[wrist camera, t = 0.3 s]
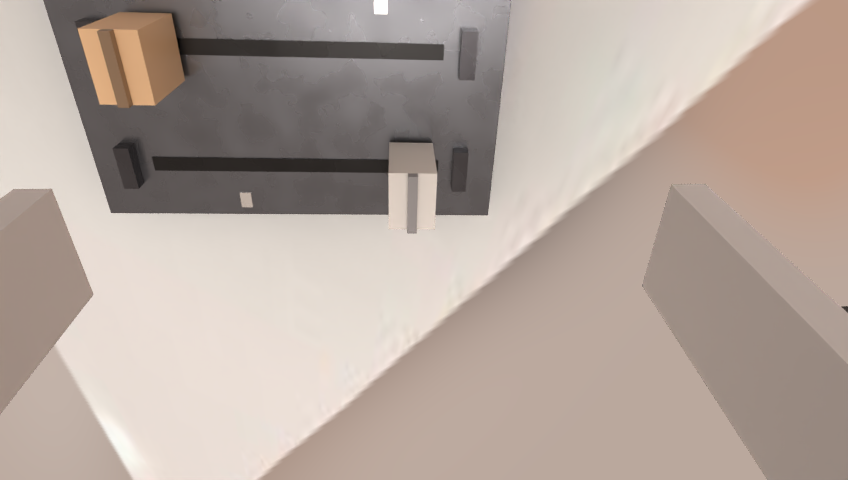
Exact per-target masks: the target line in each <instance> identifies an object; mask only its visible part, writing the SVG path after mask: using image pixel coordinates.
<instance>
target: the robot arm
mask: <svg viewBox="0 0 848 480" xmlns="http://www.w3.org/2000/svg"><path fill="white" fill-rule="evenodd" d="M642 286H643V288H644V290H645V291H646V293H647V294H648V296H649V297H650V299H651V300H652V302H653V303H654V305H655V306H656V308H657V310H658V311H659V313H660V314H661V316H662V317H663V319H664V320H665V322H666V324H667V325H668V327H669V328H670V330H671V331H672V333H673V334H674V336H675V337H676V339H677V340H678V342H679V344H680V345H681V347H682V348H683V350H684V351H685V353H686V354H687V356H688V358H689V359H690V361H691V362H692V364H693V365H694V367H695V368H696V370H697V372H698V373H699V375H700V376H701V378H702V379H703V381H704V382H705V384H706V386H707V387H708V389H709V390H710V392H711V393H712V395H713V396H714V398H715V400H716V401H717V403H718V404H719V406H720V407H721V409H722V410H723V412H724V413H725V415H726V417H727V418H728V420H729V421H730V423H731V424H732V426H733V427H734V429H735V430H736V432H737V433H738V435H739V436H740V438H741V440H742V441H743V443H744V444H745V446H746V447H747V449H748V451H749V452H750V454H751V455H752V457H753V458H754V460H755V461H756V463H757V465H758V466H759V468H760V469H761V471H762V472H763V474H764V475H765V477H766V478H767V480H848V307H847V306H846V307H841V306H840V305H838V304H837V303H836V302H835V301H834V300H833V299H832V298H831V297H830V296H829V295H828V294H826V293H825V292H824V291H823V290H822V289H821V288H820V287H819V286H818V285H816V284H815V283H814V282H813V281H812V280H811V279H810V278H809V277H807V276H806V275H805V274H804V273H803V272H802V271H801V270H800V269H799V268H798V267H796V266H795V265H794V264H793V263H792V262H791V261H790V260H789V259H788V258H787V257H785V256H784V255H783V254H782V253H781V252H780V251H779V250H778V249H777V248H775V247H774V246H773V245H772V244H771V243H770V242H769V241H768V240H767V239H765V238H764V237H763V236H762V235H761V234H760V233H759V232H758V231H757V230H756V229H754V228H753V227H752V226H751V225H750V224H749V223H748V222H747V221H745V220H744V219H743V218H742V217H741V216H740V215H739V214H738V213H737V212H735V210H733V209H732V208H731V207H730V206H729V205H728V204H727V203H726V202H725V201H723V200H722V199H721V198H720V197H719V196H718V195H717V194H716V193H714V192H713V191H712V190H711V189H710V188H709V187H708V186H707V185H706V184H671V187H670V190H669V193H668V197H667V201H666V204H665V208H664V211H663V214H662V218H661V221H660V225H659V229H658V232H657V236H656V239H655V243H654V246H653V249H652V253H651V257H650V260H649V263H648V267H647V271H646V274H645V277H644V281H643V284H642ZM92 296H93V292H92V289H91V287H90V284H89V282H88V279H87V277H86V274H85V272H84V269H83V267H82V264H81V262H80V259H79V257H78V254H77V251H76V249H75V246H74V244H73V241H72V239H71V236H70V234H69V231H68V229H67V226H66V224H65V221H64V219H63V216H62V214H61V211H60V209H59V206H58V204H57V201H56V199H55V196H54V193H53V191H52V189H13V190H12V191H10V192H9V193H8V194H6V195H5V196H4V197H2V198H1V199H0V414H1V413H2V412H3V410H4V409H5V408H6V406H7V405H8V404H9V402H10V401H11V400H12V399H13V397H14V396H15V395H16V394H17V392H18V391H19V390H20V388H21V387H22V386H23V384H24V383H25V382H26V381H27V379H28V378H29V377H30V375H31V374H32V373H33V372H34V370H35V369H36V368H37V366H38V365H39V364H40V362H41V361H42V360H43V359H44V357H45V356H46V355H47V354H48V352H49V351H50V350H51V348H52V347H53V346H54V345H55V343H56V342H57V341H58V339H59V338H60V337H61V336H62V334H63V333H64V332H65V330H66V329H67V328H68V327H69V325H70V324H71V323H72V321H73V320H74V319H75V318H76V316H77V315H78V314H79V312H80V311H81V310H82V309H83V307H84V306H85V305H86V303H87V302H88V301H89V300H90V298H91V297H92Z"/></svg>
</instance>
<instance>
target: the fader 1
mask: <svg viewBox="0 0 848 480" xmlns="http://www.w3.org/2000/svg"><path fill="white" fill-rule="evenodd" d="M77 29H78V32H79V36H80V39H81V42H82V46H83V49H84V52H85V56H86V59H87V63H88V66H89V69H90V73H91V76H92V80H93V83H94V86H95V90H96V93H97V96H98V100H99V103H100V105H118V108H130V107H131V106H133V105H156V104H158V103H159V102H160V101H161V100H162V99H164V98H165V97H166V96H167V95H168V94H170V93H171V92H172V91H173V90H174V89H176V88H177V87H178V86H179V85H180V84H182V83H183V82H184V81H185V78H184V73H183V68H182V63H181V58H180V53H179V48H178V43H177V38H176V33H175V29H174V24H173V19H172V14H171V13H140V12H118V13H116V14H113V15H111V16H108V17H106V18H103V19H101V20H98V21H95V22H93V23H90V24H88V25H85V26H83V27H80V28H77Z"/></svg>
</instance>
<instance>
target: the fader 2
mask: <svg viewBox="0 0 848 480" xmlns="http://www.w3.org/2000/svg"><path fill="white" fill-rule="evenodd" d="M388 180H389V229H407V233H417V229H434V230H435V211H436V191H437V168H436V162H435V155H434V148H433V143H396V142H389V172H388Z"/></svg>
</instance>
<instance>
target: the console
mask: <svg viewBox="0 0 848 480" xmlns="http://www.w3.org/2000/svg"><path fill="white" fill-rule="evenodd" d="M44 4H45V7H46V10H47V13H48V16H49V19H50V22H51V26H52V29H53V32H54V35H55V38H56V41H57V44H58V47H59V51H60V54H61V57H62V60H63V63H64V66H65V69H66V73H67V76H68V79H69V82H70V85H71V88H72V91H73V94H74V98H75V101H76V104H77V107H78V110H79V113H80V116H81V120H82V123H83V126H84V129H85V132H86V135H87V138H88V141H89V145H90V148H91V151H92V154H93V157H94V160H95V163H96V167H97V170H98V173H99V176H100V179H101V182H102V185H103V189H104V192H105V195H106V198H107V201H108V204H109V207H110V210H111V213H219V214H379V215H389V180H388V172H389V142H396V143H433V148H434V155H435V162H436V168H437V191H436V211H435V215H488V208H489V199H490V190H491V180H492V171H493V162H494V153H495V144H496V135H497V126H498V116H499V107H500V98H501V89H502V80H503V71H504V61H505V52H506V43H507V34H508V25H509V16H510V7H511V0H44ZM118 12H140V13H171V14H172V19H173V24H174V29H175V33H176V38H177V43H178V48H179V53H180V58H181V63H182V68H183V73H184V78H185V81H184V82H183V83H182V84H180V85H179V86H178V87H177V88H176V89H174V90H173V91H172V92H171V93H170V94H168V95H167V96H166V97H165V98H164V99H162V100H161V101H160V102H159V103H158V104H156V105H133V106H131V107H130V108H118V105H100V103H99V100H98V96H97V93H96V90H95V86H94V83H93V80H92V76H91V73H90V69H89V66H88V63H87V59H86V56H85V52H84V49H83V46H82V42H81V39H80V36H79V32H78V29H77V28H80V27H83V26H85V25H88V24H90V23H93V22H95V21H98V20H101V19H103V18H106V17H108V16H111V15H113V14H116V13H118Z"/></svg>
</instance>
